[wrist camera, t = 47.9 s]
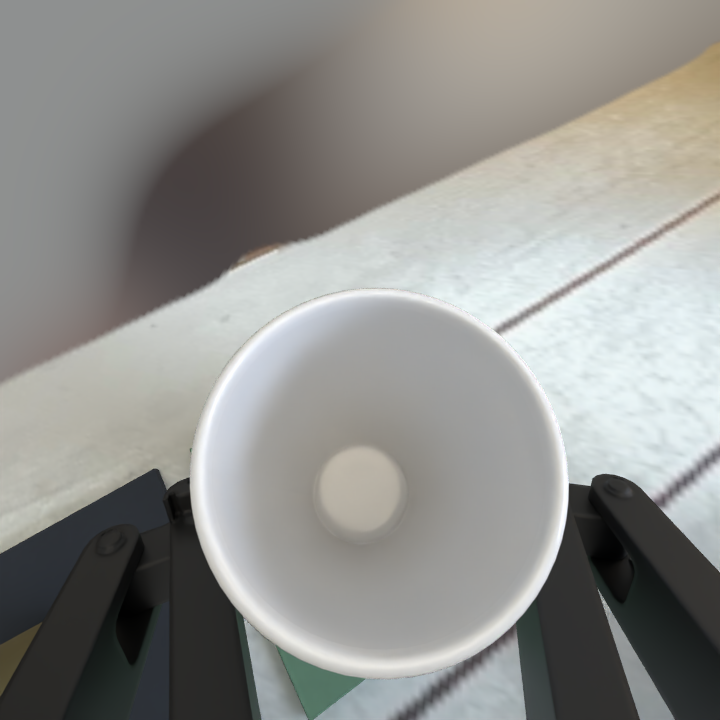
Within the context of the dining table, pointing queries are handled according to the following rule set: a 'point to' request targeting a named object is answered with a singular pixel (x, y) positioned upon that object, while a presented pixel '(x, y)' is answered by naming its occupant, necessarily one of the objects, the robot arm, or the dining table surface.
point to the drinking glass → (379, 483)
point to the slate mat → (56, 560)
